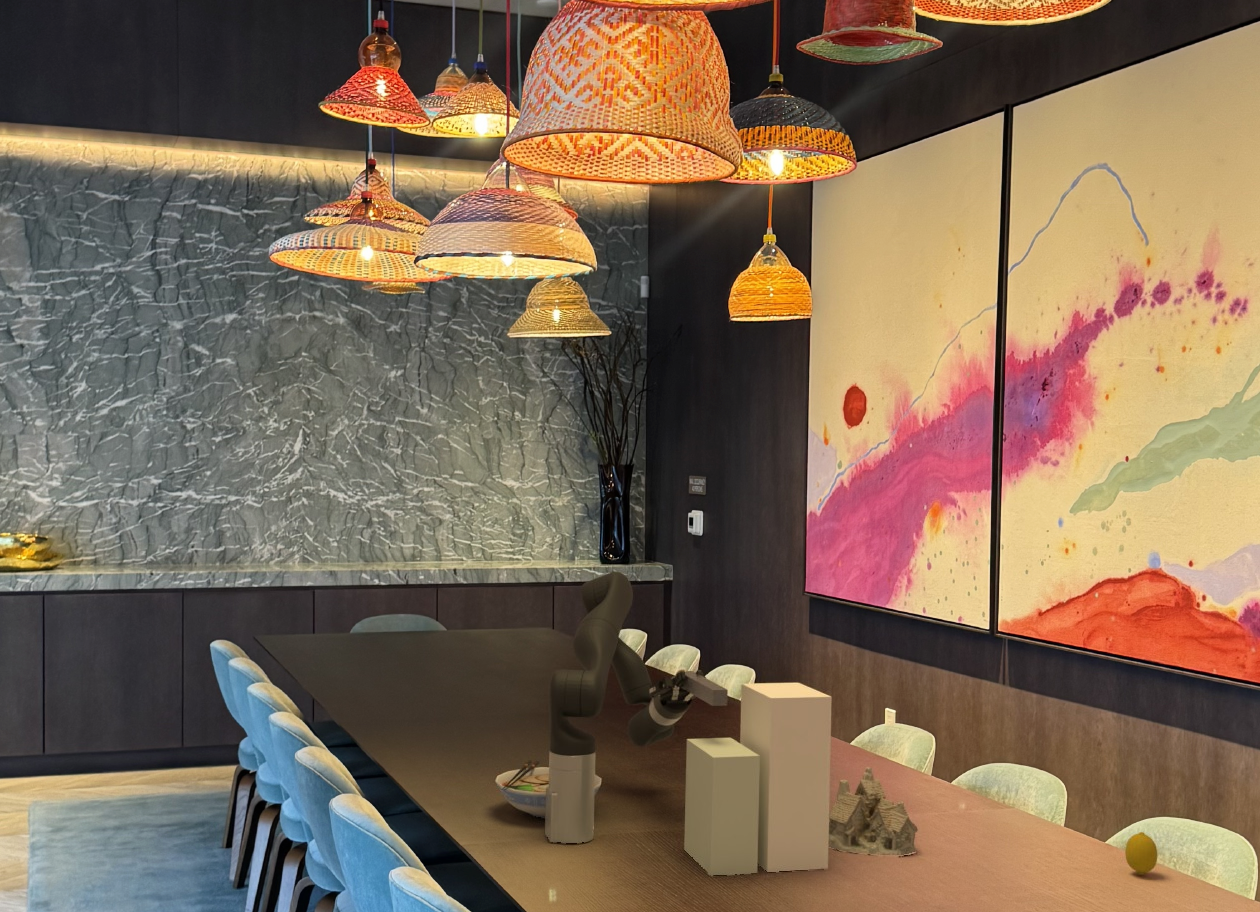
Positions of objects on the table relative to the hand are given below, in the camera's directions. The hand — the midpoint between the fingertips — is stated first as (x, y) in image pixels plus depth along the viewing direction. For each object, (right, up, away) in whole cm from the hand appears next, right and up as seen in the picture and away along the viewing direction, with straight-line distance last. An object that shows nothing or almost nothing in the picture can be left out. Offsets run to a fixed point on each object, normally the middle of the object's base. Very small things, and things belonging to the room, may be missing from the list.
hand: (692, 674), depth 253 cm
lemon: (+83, -34, -22) cm, 92 cm away
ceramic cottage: (+35, -33, -8) cm, 48 cm away
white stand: (+16, -32, -16) cm, 40 cm away
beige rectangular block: (+4, -32, -20) cm, 38 cm away
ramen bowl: (-30, -32, +11) cm, 45 cm away
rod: (+2, -3, -6) cm, 7 cm away
